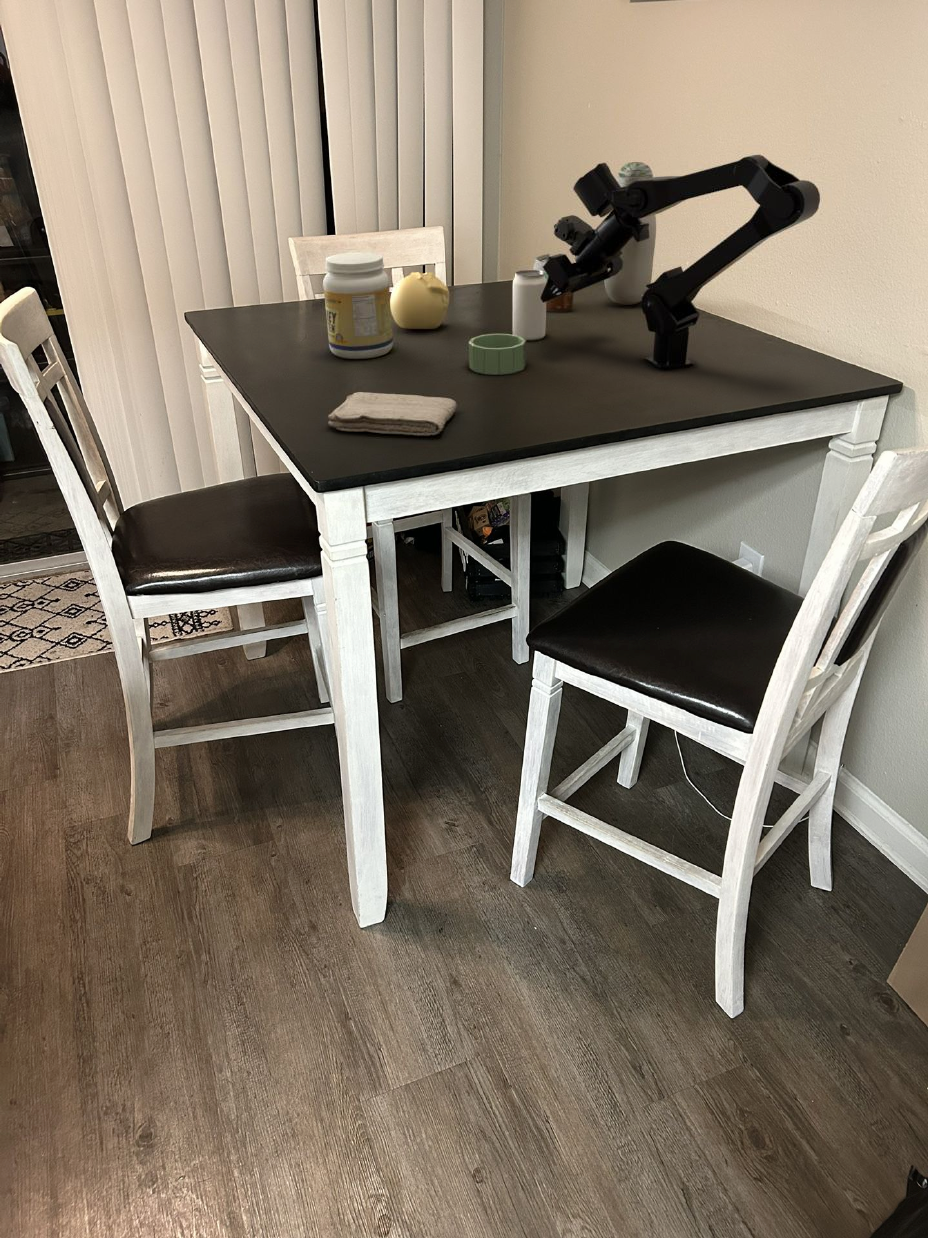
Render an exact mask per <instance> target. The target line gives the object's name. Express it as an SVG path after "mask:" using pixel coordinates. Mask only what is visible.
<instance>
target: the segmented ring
mask: <svg viewBox="0 0 928 1238" xmlns="http://www.w3.org/2000/svg"><path fill="white" fill-rule="evenodd" d="M526 358H527V341H526V340H525V339H523V338H522V337H520V336H516V335H513V334H510V333H487V334H480V335H477V336H475V337H472V338H470V340H469V341H468V362H469V363H468V368H469V369H470V370H471V371H473V372H474V373H478V374H481V375H482V374H483V375H492V376H493V375H494V376H495V375H496V376H500V375H501V376H502V375H510V374H511V375H512V374H516V373H518V372H520V371H524V369H525V368H526V366H527V365H526V363H527V362H526V361H527V359H526Z"/></svg>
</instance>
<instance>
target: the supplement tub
mask: <svg viewBox="0 0 928 1238" xmlns="http://www.w3.org/2000/svg"><path fill="white" fill-rule="evenodd" d="M384 267H385V263H384V257H383V255H381V254H378V253H374V252H365V251H364V252H361V251H360V252H343V253H337V254H333V255H330V256H327V257H326V258H325V270H326V271H327V273H326V274H325V276H324V277H323V280H322V287H323V295H324V306H325V314H326V315H325V316H326V327H327V335H328V336H327V337H328V346H329V350H330V352H331V353H332V354H334V356H336V357H340V358H342V359H348V360H367V359H373V358H374V359H375V358H378V357H382V356H385V355H386V354H388V353H389V352H391V350H392V348H393V345H394V337H393V323H392V312H391V306H390V299H391V290H390V289H391V288H390V278H389V276H388V274H387V272H385V270H383V268H384Z"/></svg>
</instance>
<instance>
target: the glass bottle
mask: <svg viewBox="0 0 928 1238" xmlns="http://www.w3.org/2000/svg"><path fill="white" fill-rule="evenodd" d="M653 177H654V174H653V171H652V168H651V167H650V166H649V165H648V164H647V163H645V162H642V161H632V162H627V163H625V164H624V165H623V166H622V167H621V168H620V169H619V171H618V173H617V175H616V180H617V182H618V183H619V185H620V186H621V187H625V186H629V185H630V184H631V183H633V182H635V181H639V180H644V179H648V178H653ZM640 219H641V221H642V222H643V223H649V239H647V240H643V241H640V242H636V240H635V239H634V237H633V238H632V239H631V240H630V241H629V242H628V243H627V244H626V245H625V246H624V247H623V248H622V249H621V252H622V254H621V255H620V258H621V259H622V261H623V267H622V269H621V270H620V271H619V272H618V273H617V274H616V275H614V276H611V277H610V278H608V279H606V280H603V281H604V288H605V289H604V290H605V292H606V294H607V296H608V298H609V300H611V301H612V302H614V303H616V304H618V305H621V306H632V305H636V304H638V303H641V301H642V298H641V297H642V295H643V293H644V292H645V291H646V290H647V289H649V288H647V287H646V285H648V284H651V283H652V278H653V268H654V256H655V248H656V236H657V217H656V214H655V215H651V216H647V217H644V218H640ZM609 270H610V268H609V269H608V271H609Z"/></svg>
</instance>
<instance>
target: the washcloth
mask: <svg viewBox="0 0 928 1238" xmlns="http://www.w3.org/2000/svg"><path fill="white" fill-rule="evenodd" d="M457 406H458V405H457V402H456V401H455V400H453V399H452V398H448V397H440V396H439V397H438V396H423V395H416V394H415V395H414V394H396V393H380V392H379V393H378V392H368V391H367V392H362V391H358V392H354V393H353V394H349V395H347V396H346V400H345V401H344V402H343V403H342V404H340V405H339V406H338V407H336V408H335V409H334V410H333V411H332V412H331V413H330V414H328V415H327V418H328V420H329V421H328V426H330V427H331V428H335V429H336V430H337V431H338V430H339V431H343V432H368V433H376V434H388V435H404V436H405V435H406V436H422V437H423V436H436V435H438V434H440V433H441V432H442V431H443V429H444V428H445V425H446V423H447V422H448V421H450V419H451V418H452V416H453V415H454V413H455V412H456V410H457Z"/></svg>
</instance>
